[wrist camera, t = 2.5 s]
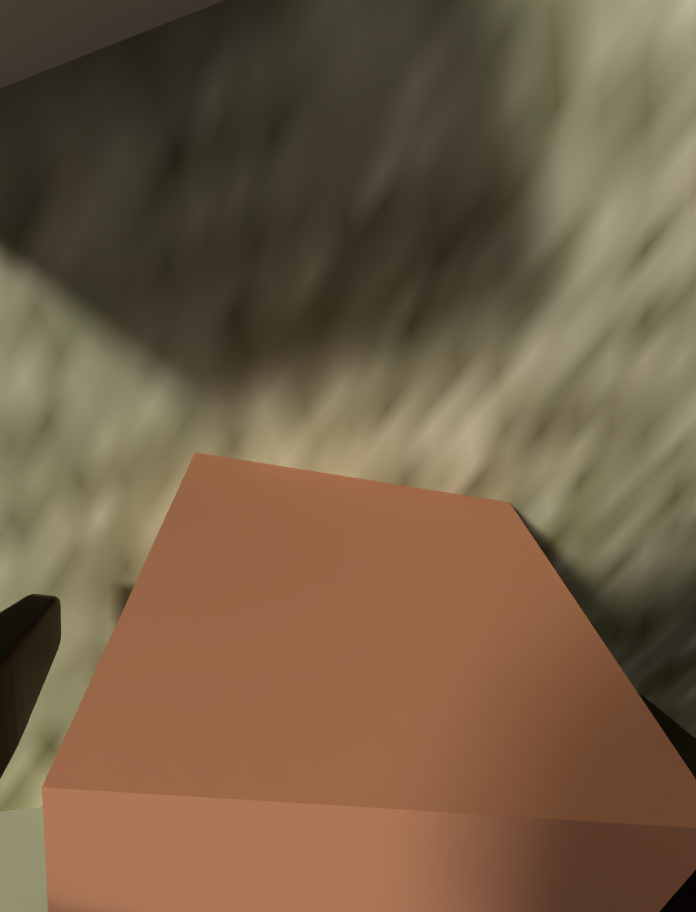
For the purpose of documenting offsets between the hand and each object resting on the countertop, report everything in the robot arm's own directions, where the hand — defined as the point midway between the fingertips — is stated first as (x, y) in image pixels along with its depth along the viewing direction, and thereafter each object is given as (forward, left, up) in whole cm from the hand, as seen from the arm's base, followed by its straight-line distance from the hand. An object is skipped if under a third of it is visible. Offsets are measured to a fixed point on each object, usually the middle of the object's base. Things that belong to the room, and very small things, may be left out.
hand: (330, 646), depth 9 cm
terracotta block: (0, 0, -1) cm, 1 cm away
